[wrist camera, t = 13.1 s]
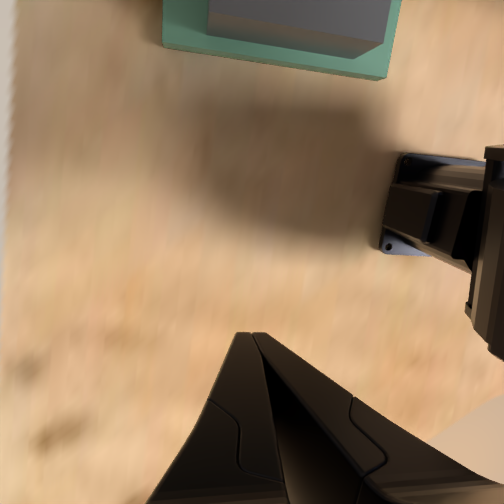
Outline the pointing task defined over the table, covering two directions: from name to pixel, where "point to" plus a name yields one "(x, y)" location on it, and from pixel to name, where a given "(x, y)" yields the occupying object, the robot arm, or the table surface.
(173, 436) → the table surface
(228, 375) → the robot arm
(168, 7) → the board
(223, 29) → the connector socket
